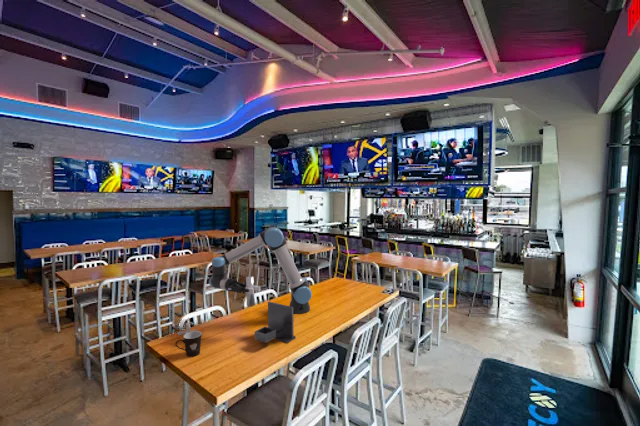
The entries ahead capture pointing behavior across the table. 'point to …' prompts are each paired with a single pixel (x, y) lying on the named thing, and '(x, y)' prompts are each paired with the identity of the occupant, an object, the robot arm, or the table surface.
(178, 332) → the pipe connector
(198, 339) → the coffee mug
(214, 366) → the table surface
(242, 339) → the table surface
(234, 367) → the table surface
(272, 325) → the cup bracket
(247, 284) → the rail post
